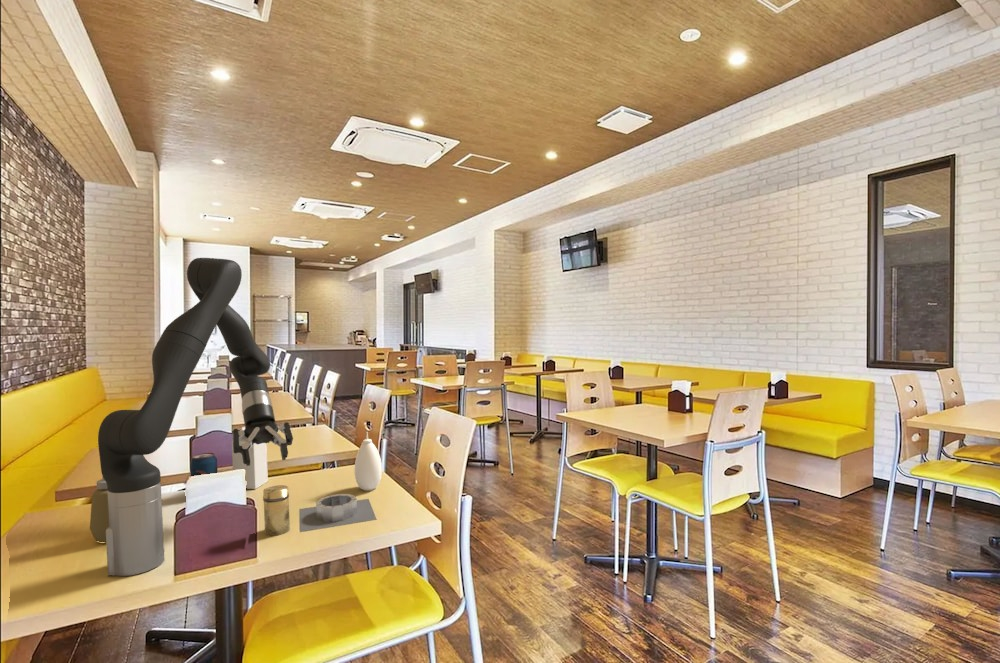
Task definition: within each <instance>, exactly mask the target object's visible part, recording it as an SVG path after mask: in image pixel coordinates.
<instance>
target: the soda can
mask: <svg viewBox="0 0 1000 663" xmlns="http://www.w3.org/2000/svg"><path fill="white" fill-rule="evenodd" d="M189 468H190V470H189V471H190V472H189V473H190V477H191V476H194V475H201V474H210V473H217V472H218V459H217V457H216V455H215V453H214V452H203V453H202V452H201V453H197V454H194V455H192V457H191V460H190V463H189ZM218 473H219V472H218Z"/></svg>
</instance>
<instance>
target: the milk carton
mask: <svg viewBox="0 0 1000 663" xmlns="http://www.w3.org/2000/svg"><path fill="white" fill-rule="evenodd" d="M240 430H245V425H244V426H242V427H241V429H240ZM247 439H248V438H247V437H245V436H244V435H243V436H242V437H241V439H239V446H243V445H244V444H245V442H246V441H247ZM267 446H268V445H267V443H261V444H255V443H254V444H253V446H252V447H251V448H250V449H249V456H250V466H247V465H246V464H244V463H243V457H242V454H241V453H234V452H233V439H232V440H231V456H232V457H231V458H232V459H231V460H232V471H233V470H235V469H245V470H246V476H245V479H246V481H247V485H246V488H247V489H246V490H256V489H258V488H260V487H261V486H263V485H265V484H266V483H267V482H269V475H268V453H267V452H268V451H267V449H268V448H267ZM266 478H267V479H266Z"/></svg>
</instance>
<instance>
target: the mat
mask: <svg viewBox="0 0 1000 663" xmlns="http://www.w3.org/2000/svg"><path fill="white" fill-rule="evenodd" d="M373 509H374V508H373V506H372V504H371V502H370V498H366V499H365V498H364V499H363V498H362V499H358V500H357V513H356V514H355V515H354V516H353V517H351V518H348V519H346V520H342V521H336V522H323V521H320V520H318V519H317V515H316V506H310V507H303V508H299V533H303V532H310V531H316V530H322V529H329V528H335V527H341V526H346V525H352V524H358V523H359V524H360V523H363V522H364V523H365V522H371V521H376V520H378V519H377V516H376V514H375V512H374V510H373Z"/></svg>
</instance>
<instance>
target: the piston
mask: <svg viewBox="0 0 1000 663" xmlns="http://www.w3.org/2000/svg"><path fill="white" fill-rule="evenodd" d="M262 493H263V496H262V499H263V500H262V501H263V514H264V516H263V518H264V520H263V521H264V534H265V535H266V536H269V537H276V536H281V535H284V534H287V533H288V532H290V530H291V526H290V525H291V523H290V500H289V499H290V498H289V497H290V493H289V486H288V485H281V484H279V485H272V486H269V487H266V488H264V489H263V492H262Z"/></svg>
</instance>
